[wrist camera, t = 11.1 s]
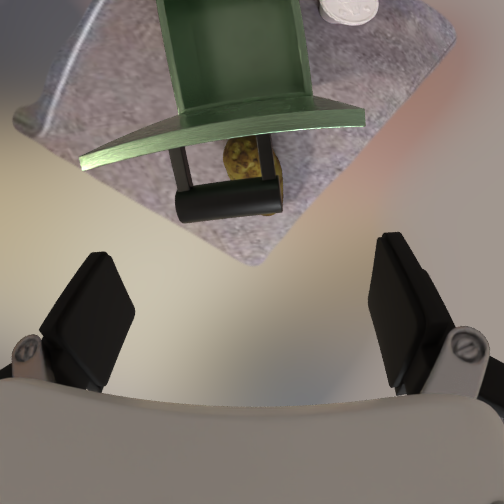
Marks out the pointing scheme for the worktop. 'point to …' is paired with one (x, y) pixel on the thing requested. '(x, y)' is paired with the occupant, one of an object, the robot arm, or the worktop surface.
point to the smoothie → (348, 11)
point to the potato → (246, 160)
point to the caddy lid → (219, 128)
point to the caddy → (234, 51)
